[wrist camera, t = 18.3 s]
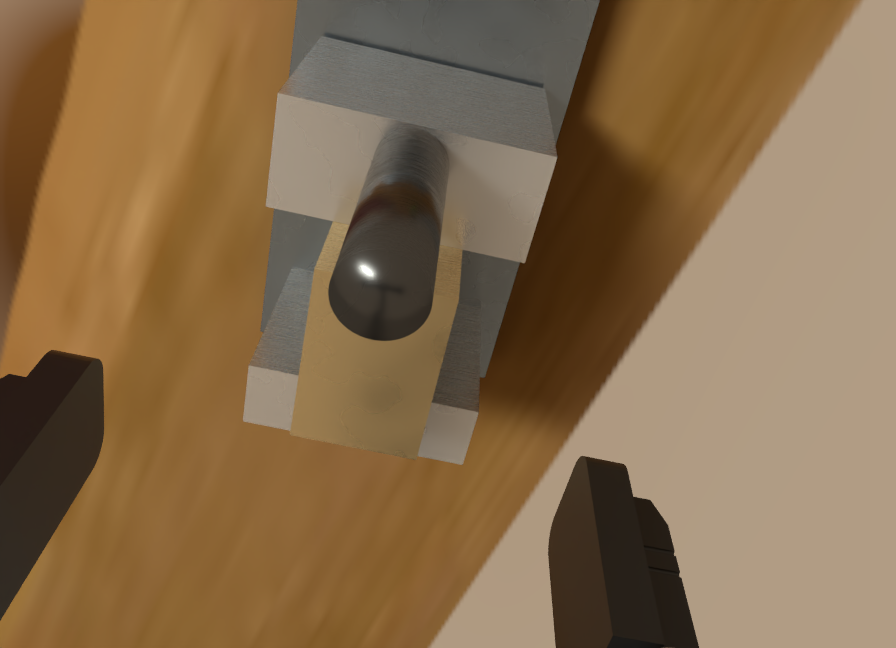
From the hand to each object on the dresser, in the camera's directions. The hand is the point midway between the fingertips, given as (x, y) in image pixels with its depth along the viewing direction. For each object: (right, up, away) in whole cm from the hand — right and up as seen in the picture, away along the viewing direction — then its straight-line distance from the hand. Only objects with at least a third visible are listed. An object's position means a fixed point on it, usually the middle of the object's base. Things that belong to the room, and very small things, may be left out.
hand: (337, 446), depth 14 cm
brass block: (0, +6, +18) cm, 19 cm away
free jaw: (+1, +10, +16) cm, 18 cm away
